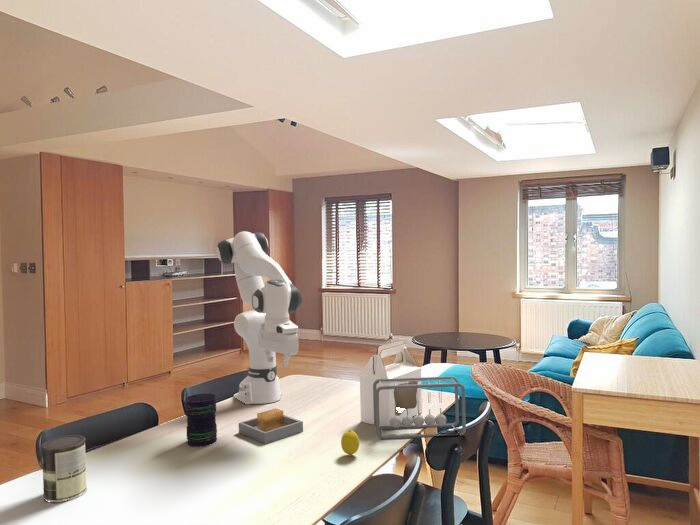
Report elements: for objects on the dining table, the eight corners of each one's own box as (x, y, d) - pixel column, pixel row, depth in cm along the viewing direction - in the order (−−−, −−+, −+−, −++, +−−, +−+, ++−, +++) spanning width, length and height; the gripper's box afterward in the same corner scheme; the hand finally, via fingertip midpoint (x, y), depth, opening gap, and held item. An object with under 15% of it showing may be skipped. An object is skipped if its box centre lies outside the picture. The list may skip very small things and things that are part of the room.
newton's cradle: (376, 440, 172) (375, 386, 171) (374, 429, 182) (372, 379, 182) (466, 436, 173) (465, 383, 172) (458, 425, 183) (457, 376, 183)
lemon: (361, 453, 160) (361, 427, 160) (356, 460, 155) (355, 433, 155) (344, 451, 162) (344, 426, 162) (338, 458, 157) (338, 432, 157)
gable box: (389, 428, 182) (387, 349, 181) (360, 422, 190) (358, 346, 190) (422, 412, 199) (420, 340, 199) (394, 407, 208) (392, 337, 207)
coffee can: (35, 504, 132) (33, 449, 132) (55, 486, 143) (53, 435, 142) (77, 501, 133) (75, 447, 133) (93, 484, 144) (91, 433, 143)
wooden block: (257, 430, 181) (257, 413, 181) (276, 424, 186) (275, 408, 186) (265, 433, 177) (264, 416, 177) (283, 427, 183) (283, 410, 183)
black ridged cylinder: (223, 438, 177) (222, 395, 176) (203, 448, 168) (202, 402, 168) (200, 434, 181) (199, 392, 181) (180, 444, 172) (178, 400, 172)
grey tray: (238, 432, 182) (238, 422, 182) (276, 421, 193) (275, 412, 193) (265, 443, 170) (264, 433, 170) (303, 431, 182) (302, 421, 182)
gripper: (253, 323, 191) (254, 360, 191) (286, 330, 176) (287, 370, 176) (267, 321, 195) (268, 357, 196) (301, 327, 180) (301, 367, 181)
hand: (277, 363), depth 186 cm, fingers open, 8 cm apart
